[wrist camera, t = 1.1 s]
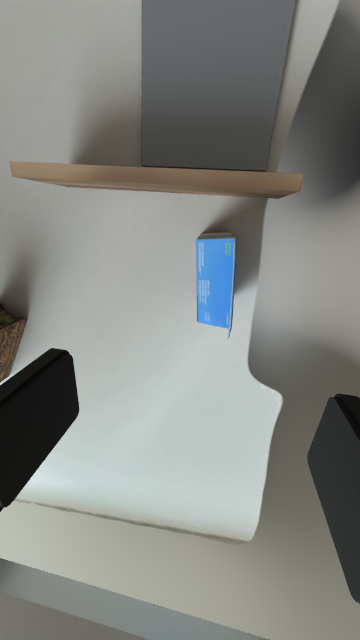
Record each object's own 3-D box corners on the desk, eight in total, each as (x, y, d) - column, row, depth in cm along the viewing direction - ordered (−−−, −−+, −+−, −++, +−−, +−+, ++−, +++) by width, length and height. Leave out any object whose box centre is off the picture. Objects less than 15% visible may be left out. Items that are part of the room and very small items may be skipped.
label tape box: (200, 232, 31) (185, 241, 19) (234, 231, 30) (237, 239, 19) (201, 299, 34) (188, 339, 23) (231, 299, 33) (232, 341, 22)
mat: (143, -5, 23) (141, -10, 23) (297, -15, 21) (298, -20, 21) (143, 166, 29) (142, 165, 28) (265, 171, 27) (265, 170, 26)
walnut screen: (67, 176, 31) (9, 161, 23) (280, 186, 27) (303, 173, 19) (68, 186, 31) (12, 176, 23) (278, 198, 28) (299, 191, 20)
